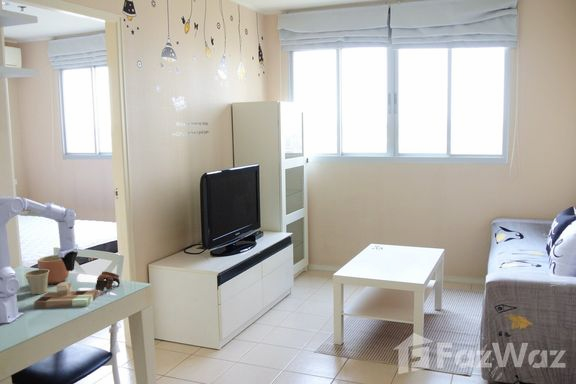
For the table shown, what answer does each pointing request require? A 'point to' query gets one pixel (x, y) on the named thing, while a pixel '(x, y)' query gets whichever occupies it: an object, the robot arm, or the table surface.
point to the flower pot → (37, 281)
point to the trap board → (66, 299)
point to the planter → (53, 268)
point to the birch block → (64, 288)
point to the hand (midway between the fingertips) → (70, 270)
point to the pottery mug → (106, 281)
